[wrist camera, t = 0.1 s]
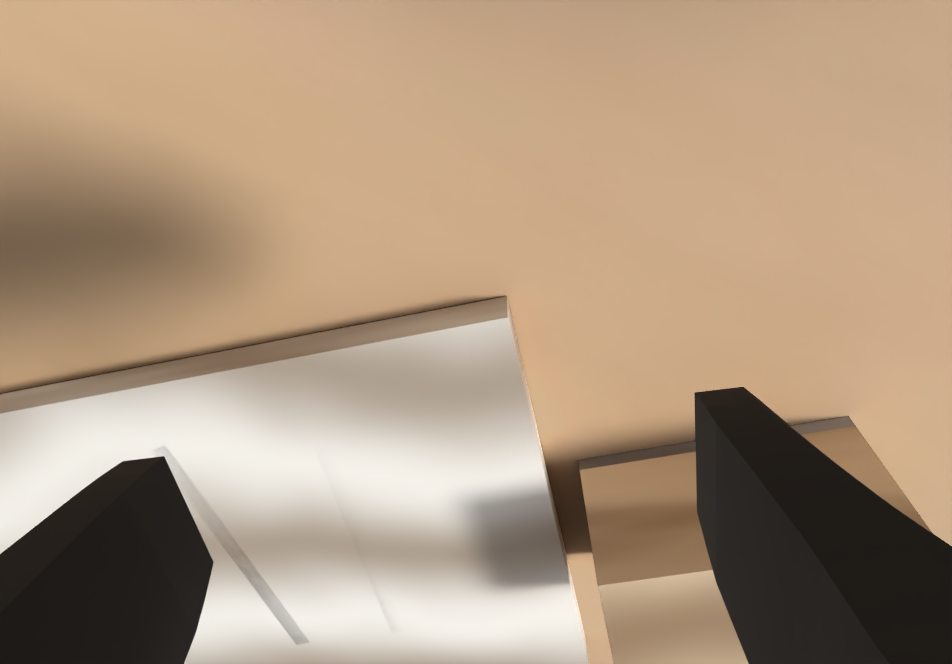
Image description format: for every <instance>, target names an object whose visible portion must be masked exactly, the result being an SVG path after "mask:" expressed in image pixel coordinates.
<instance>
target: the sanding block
mask: <svg viewBox="0 0 952 664" xmlns="http://www.w3.org/2000/svg"><path fill="white" fill-rule="evenodd" d="M791 427H792V428H793V429H795V430H796V431H797V432H798V433H799V434H801V435H802V436H803V437H804V438H806V439H807V440H808V441H809V442H810V443H812V444H813V445H814V446H815V447H817V448H818V449H819V450H820V451H821V452H823V453H824V454H825V455H826V456H828V457H829V458H830V459H831V460H833V461H834V462H835V463H837V464H838V465H839V466H840V467H842V468H843V469H844V470H846V471H847V472H848V473H850V474H851V475H852V476H853V477H855V478H856V479H857V480H859V481H860V482H861V483H863V484H864V485H865V486H867V487H868V488H869V489H870V490H872V491H873V492H874V493H876V494H877V495H878V496H880V497H881V498H882V499H884V500H885V501H887V502H888V503H889V504H891V505H892V506H893V507H895V508H896V509H898V510H899V511H900V512H902V513H903V514H905V515H906V516H908V517H909V518H911V519H912V520H914V521H915V522H916V523H918V524H919V525H921V526H922V527H924V528H925V529H927V530H928V531H930V529H929V528H928V526H927V525H926V524H925V522H924V521H923V519H922V518H921V517H920V515H919V514H918V512H917V511H916V510H915V508H914V507H913V506H912V504H911V503H910V501H909V500H908V499H907V497H906V496H905V494H904V493H903V492H902V490H901V489H900V487H899V486H898V485H897V483H896V482H895V480H894V479H893V478H892V476H891V475H890V473H889V472H888V471H887V469H886V468H885V466H884V465H883V464H882V462H881V461H880V459H879V458H878V457H877V455H876V454H875V452H874V451H873V450H872V448H871V447H870V445H869V444H868V443H867V441H866V440H865V438H864V437H863V436H862V434H861V433H860V431H859V430H858V429H857V427H856V426H855V424H854V423H853V422H852V420H851V419H850V417H849V416H846V417H840V418H834V419H828V420H822V421H815V422H809V423H803V424H797V425H791ZM578 463H579V470H580V476H581V483H582V489H583V495H584V502H585V508H586V514H587V521H588V527H589V533H590V540H591V546H592V553H593V559H594V565H595V572H596V578H597V584H598V590H599V594H600V599H601V604H602V609H603V614H604V619H605V624H606V628H607V633H608V638H609V643H610V648H611V653H612V657H613V662H614V664H749V663H748V661H747V658H746V656H745V653H744V651H743V649H742V646H741V644H740V641H739V639H738V636H737V634H736V631H735V629H734V626H733V624H732V621H731V619H730V616H729V614H728V611H727V609H726V606H725V604H724V601H723V599H722V596H721V593H720V591H719V588H718V586H717V583H716V580H715V576H714V573H713V569H712V566H711V562H710V559H709V555H708V552H707V548H706V544H705V540H704V537H703V533H702V529H701V525H700V521H699V518H698V514H697V489H696V441H692V442H686V443H680V444H674V445H668V446H661V447H655V448H649V449H643V450H637V451H631V452H625V453H618V454H612V455H606V456H600V457H594V458H588V459H581V460H578ZM930 532H931V531H930ZM931 533H932V532H931Z"/></svg>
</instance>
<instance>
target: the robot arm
mask: <svg viewBox="0 0 952 664" xmlns="http://www.w3.org/2000/svg"><path fill="white" fill-rule="evenodd" d="M695 436H696V489H697V514H698V518H699V521H700V525H701V529H702V533H703V537H704V540H705V544H706V548H707V552H708V555H709V559H710V562H711V566H712V569H713V573H714V576H715V580H716V583H717V586H718V588H719V591H720V593H721V596H722V599H723V601H724V604H725V606H726V609H727V611H728V614H729V616H730V619H731V621H732V624H733V626H734V629H735V631H736V634H737V636H738V639H739V641H740V644H741V646H742V649H743V651H744V653H745V656H746V658H747V661H748V663H749V664H952V546H950V545H949V544H947V543H946V542H944V541H943V540H941V539H940V538H938V537H937V536H935V535H934V534H933V533H931V532H930V531H928V530H927V529H925V528H924V527H922V526H921V525H919V524H918V523H916V522H915V521H914V520H912V519H911V518H909V517H908V516H906V515H905V514H903V513H902V512H900V511H899V510H898V509H896V508H895V507H893V506H892V505H891V504H889V503H888V502H887V501H885V500H884V499H882V498H881V497H880V496H878V495H877V494H876V493H874V492H873V491H872V490H870V489H869V488H868V487H867V486H865V485H864V484H863V483H861V482H860V481H859V480H857V479H856V478H855V477H853V476H852V475H851V474H850V473H848V472H847V471H846V470H844V469H843V468H842V467H840V466H839V465H838V464H837V463H835V462H834V461H833V460H831V459H830V458H829V457H828V456H826V455H825V454H824V453H823V452H821V451H820V450H819V449H818V448H817V447H815V446H814V445H813V444H812V443H810V442H809V441H808V440H807V439H806V438H804V437H803V436H802V435H801V434H799V433H798V432H797V431H796V430H795V429H793V428H792V427H791V426H790V425H789V424H787V423H786V422H785V421H784V420H783V419H782V418H780V417H779V416H778V415H777V414H776V413H774V412H773V411H772V410H771V409H770V408H768V407H767V406H766V405H765V404H764V403H762V402H761V401H760V400H759V399H758V398H756V397H755V396H754V395H753V394H752V393H750V392H749V391H748V390H747V389H745V388H744V387H738V388H730V389H721V390H713V391H705V392H696V393H695ZM213 563H214V562H213V560H212V557H211V555H210V553H209V551H208V549H207V547H206V545H205V542H204V540H203V538H202V536H201V534H200V532H199V530H198V527H197V525H196V523H195V521H194V519H193V517H192V515H191V512H190V510H189V508H188V506H187V504H186V502H185V500H184V497H183V495H182V493H181V491H180V489H179V487H178V485H177V482H176V480H175V478H174V476H173V474H172V472H171V470H170V467H169V465H168V463H167V461H166V459H165V457H164V456H162V457H153V458H145V459H137V460H128V461H122V462H121V463H119V464H118V465H116V466H115V467H113V468H112V469H110V470H109V471H107V472H106V473H104V474H103V475H102V476H100V477H99V478H97V479H96V480H95V481H93V482H92V483H91V484H89V485H88V486H87V487H85V488H84V489H83V490H81V491H80V492H79V493H77V494H76V495H75V496H73V497H72V498H71V499H70V500H68V501H67V502H66V503H64V504H63V505H62V506H61V507H59V508H58V509H57V510H55V511H54V512H53V513H52V514H50V515H49V516H48V517H47V518H45V519H44V520H43V521H42V522H40V523H39V524H38V525H36V526H35V527H34V528H33V529H31V530H30V531H29V532H28V533H26V534H25V535H24V536H22V537H21V538H20V539H19V540H17V541H16V542H15V543H14V544H12V545H11V546H10V547H8V548H7V549H6V550H5V551H3V552H2V553H1V554H0V664H184V662H185V660H186V657H187V655H188V652H189V650H190V647H191V644H192V642H193V639H194V636H195V634H196V631H197V627H198V623H199V620H200V616H201V612H202V609H203V605H204V602H205V597H206V593H207V589H208V585H209V580H210V576H211V572H212V568H213Z"/></svg>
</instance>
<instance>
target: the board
mask: <svg viewBox="0 0 952 664" xmlns="http://www.w3.org/2000/svg"><path fill="white" fill-rule="evenodd" d="M162 456H164V457H165V459H166V461H167V463H168V465H169V467H170V470H171V472H172V474H173V476H174V478H175V480H176V482H177V485H178V487H179V489H180V491H181V493H182V495H183V497H184V500H185V502H186V504H187V506H188V508H189V510H190V512H191V515H192V517H193V519H194V521H195V523H196V525H197V527H198V530H199V532H200V534H201V536H202V538H203V540H204V542H205V545H206V547H207V549H208V551H209V553H210V555H211V557H212V560H213V562H214V563H213V568H212V572H211V576H210V580H209V585H208V589H207V593H206V597H205V602H204V605H203V609H202V612H201V616H200V620H199V623H198V627H197V631H196V634H195V636H194V639H193V642H192V644H191V647H190V650H189V652H188V655H187V657H186V660H185V662H184V664H589V663H588V655H587V648H586V640H585V634H584V630H583V625H582V621H581V616H580V612H579V608H578V603H577V599H576V595H575V590H574V586H573V582H572V577H571V573H570V569H569V564H568V560H567V556H566V551H565V547H564V543H563V538H562V534H561V529H560V525H559V521H558V516H557V512H556V508H555V503H554V499H553V495H552V490H551V486H550V482H549V477H548V473H547V469H546V464H545V460H544V456H543V451H542V447H541V443H540V438H539V434H538V429H537V425H536V421H535V416H534V412H533V408H532V403H531V399H530V395H529V390H528V386H527V382H526V377H525V373H524V369H523V364H522V360H521V356H520V351H519V347H518V342H517V338H516V334H515V329H514V325H513V321H512V316H511V312H510V308H509V303H508V299H507V296H506V297H500V298H495V299H490V300H485V301H480V302H475V303H469V304H464V305H459V306H454V307H449V308H443V309H438V310H433V311H428V312H423V313H418V314H412V315H407V316H402V317H397V318H392V319H387V320H381V321H376V322H371V323H366V324H361V325H355V326H350V327H345V328H340V329H335V330H330V331H324V332H319V333H314V334H309V335H304V336H299V337H293V338H288V339H283V340H278V341H273V342H268V343H262V344H257V345H252V346H247V347H242V348H236V349H231V350H226V351H221V352H216V353H211V354H205V355H200V356H195V357H190V358H185V359H180V360H174V361H169V362H164V363H159V364H154V365H148V366H143V367H138V368H133V369H128V370H123V371H117V372H112V373H107V374H102V375H97V376H92V377H86V378H81V379H76V380H71V381H66V382H61V383H55V384H50V385H45V386H40V387H35V388H29V389H24V390H19V391H14V392H9V393H4V394H0V554H1V553H2V552H3V551H5V550H6V549H7V548H8V547H10V546H11V545H12V544H14V543H15V542H16V541H17V540H19V539H20V538H21V537H22V536H24V535H25V534H26V533H28V532H29V531H30V530H31V529H33V528H34V527H35V526H36V525H38V524H39V523H40V522H42V521H43V520H44V519H45V518H47V517H48V516H49V515H50V514H52V513H53V512H54V511H55V510H57V509H58V508H59V507H61V506H62V505H63V504H64V503H66V502H67V501H68V500H70V499H71V498H72V497H73V496H75V495H76V494H77V493H79V492H80V491H81V490H83V489H84V488H85V487H87V486H88V485H89V484H91V483H92V482H93V481H95V480H96V479H97V478H99V477H100V476H102V475H103V474H104V473H106V472H107V471H109V470H110V469H112V468H113V467H115V466H116V465H118V464H119V463H121V462H122V461H128V460H137V459H145V458H153V457H162Z"/></svg>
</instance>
